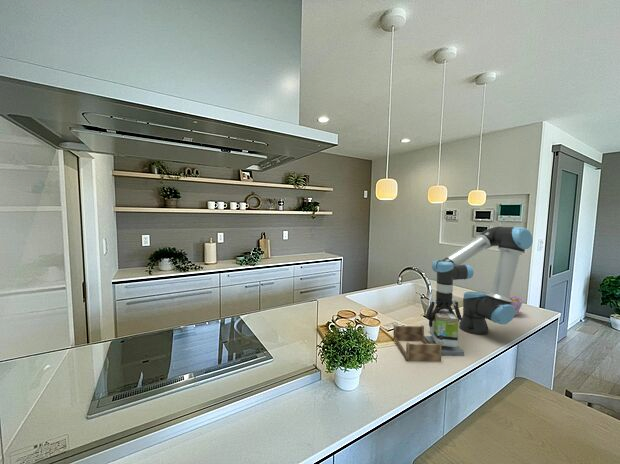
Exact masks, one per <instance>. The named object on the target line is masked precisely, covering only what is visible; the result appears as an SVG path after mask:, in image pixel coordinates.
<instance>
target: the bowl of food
mask: <svg viewBox="0 0 620 464" xmlns="http://www.w3.org/2000/svg"><path fill="white" fill-rule="evenodd" d="M509 298H510V300H511V301H512V303H511V305H512V306H513V307H514V310H515V315H516V314H518V313H520V310H521V307H522V305H523V302H524V300H523V299H522V298H520V297H517V296H515V295H511V294H510V296H509Z"/></svg>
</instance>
